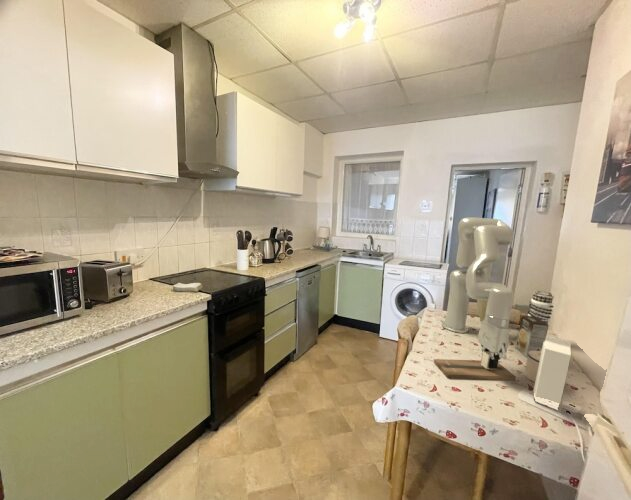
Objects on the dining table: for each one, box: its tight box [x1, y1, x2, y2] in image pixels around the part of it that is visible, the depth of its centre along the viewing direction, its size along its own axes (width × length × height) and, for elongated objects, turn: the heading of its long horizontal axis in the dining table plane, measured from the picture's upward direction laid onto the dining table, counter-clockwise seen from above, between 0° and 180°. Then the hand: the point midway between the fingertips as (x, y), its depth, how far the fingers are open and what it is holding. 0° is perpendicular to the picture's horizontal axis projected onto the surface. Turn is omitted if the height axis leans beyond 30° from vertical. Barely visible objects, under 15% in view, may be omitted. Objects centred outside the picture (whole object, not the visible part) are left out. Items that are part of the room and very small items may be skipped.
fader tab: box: [480, 351, 497, 369], centre depth 101 cm, size 3×4×6 cm
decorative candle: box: [527, 290, 555, 325], centre depth 131 cm, size 9×9×25 cm
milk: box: [532, 335, 572, 405], centre depth 84 cm, size 6×6×22 cm
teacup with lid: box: [524, 350, 542, 383], centre depth 99 cm, size 12×9×12 cm
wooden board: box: [433, 358, 517, 381], centre depth 101 cm, size 10×26×2 cm, turn 93°
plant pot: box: [476, 300, 488, 323], centre depth 151 cm, size 15×15×16 cm
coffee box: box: [515, 315, 550, 358], centre depth 117 cm, size 9×6×16 cm
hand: (488, 364), depth 101 cm, fingers closed on fader tab, 3 cm apart
